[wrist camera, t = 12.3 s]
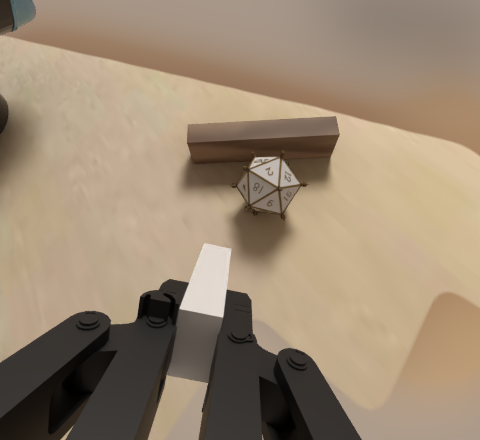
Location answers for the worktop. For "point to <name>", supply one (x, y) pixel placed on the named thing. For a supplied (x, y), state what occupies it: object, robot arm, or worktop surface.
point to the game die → (268, 184)
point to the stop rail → (262, 139)
